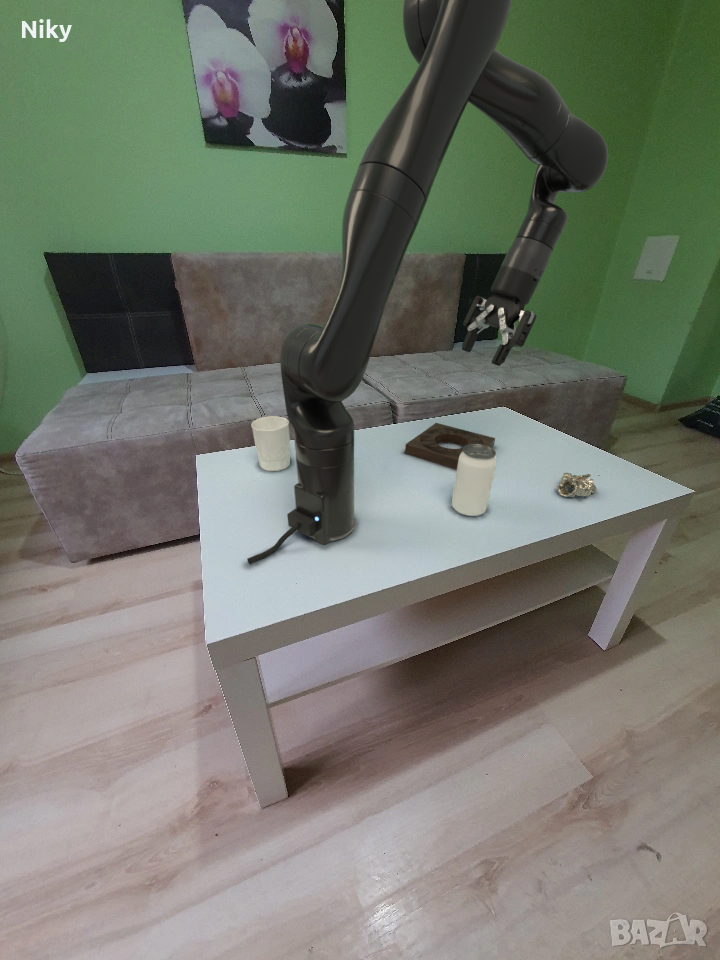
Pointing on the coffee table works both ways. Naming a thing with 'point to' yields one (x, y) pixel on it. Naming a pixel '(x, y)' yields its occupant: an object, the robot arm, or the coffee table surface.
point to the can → (474, 479)
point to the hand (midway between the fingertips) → (480, 357)
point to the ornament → (576, 485)
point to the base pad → (439, 433)
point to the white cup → (272, 442)
